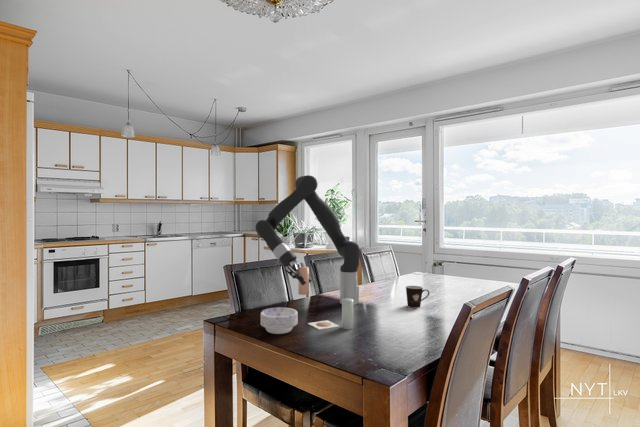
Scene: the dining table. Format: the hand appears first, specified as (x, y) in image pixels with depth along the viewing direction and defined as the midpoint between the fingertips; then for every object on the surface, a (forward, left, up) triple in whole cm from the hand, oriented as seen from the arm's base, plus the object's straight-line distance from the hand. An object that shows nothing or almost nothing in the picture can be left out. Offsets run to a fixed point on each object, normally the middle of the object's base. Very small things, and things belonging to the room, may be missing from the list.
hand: (307, 282), depth 181 cm
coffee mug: (-62, +5, -17) cm, 64 cm away
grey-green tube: (-9, +19, -17) cm, 27 cm away
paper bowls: (+18, +9, -17) cm, 27 cm away
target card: (-2, +11, -17) cm, 20 cm away
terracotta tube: (+1, -2, -5) cm, 6 cm away
